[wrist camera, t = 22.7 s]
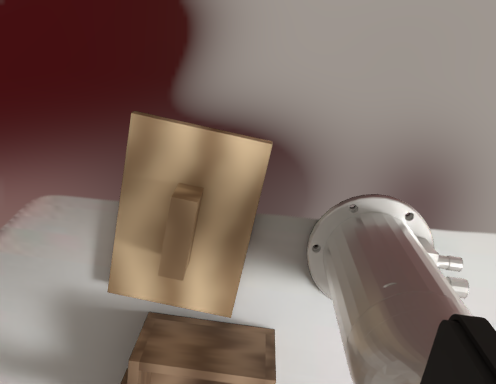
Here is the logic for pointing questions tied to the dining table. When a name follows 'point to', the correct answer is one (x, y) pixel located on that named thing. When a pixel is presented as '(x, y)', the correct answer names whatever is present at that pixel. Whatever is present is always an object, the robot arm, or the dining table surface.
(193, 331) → the toolbox
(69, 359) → the dining table surface
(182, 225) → the lid
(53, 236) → the dining table surface
